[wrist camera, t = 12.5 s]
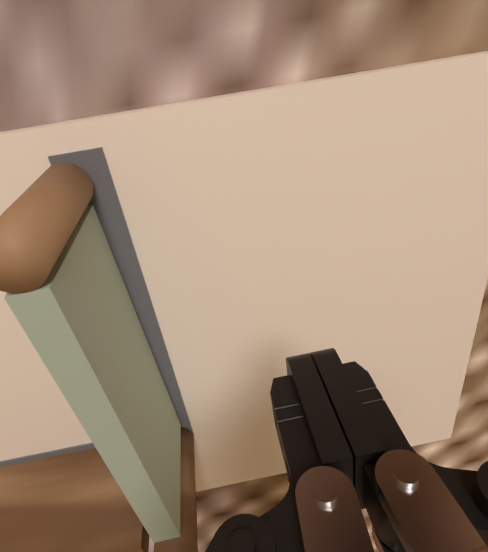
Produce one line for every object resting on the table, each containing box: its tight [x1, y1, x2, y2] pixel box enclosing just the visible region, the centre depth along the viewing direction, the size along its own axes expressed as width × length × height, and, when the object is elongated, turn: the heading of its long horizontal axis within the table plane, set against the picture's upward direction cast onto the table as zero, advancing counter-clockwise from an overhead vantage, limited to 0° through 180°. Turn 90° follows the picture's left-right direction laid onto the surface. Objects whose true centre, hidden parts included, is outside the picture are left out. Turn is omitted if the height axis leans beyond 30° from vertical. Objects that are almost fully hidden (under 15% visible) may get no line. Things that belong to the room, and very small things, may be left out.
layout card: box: [0, 51, 488, 492], centre depth 21 cm, size 24×34×1 cm
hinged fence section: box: [0, 162, 181, 543], centre depth 16 cm, size 2×15×6 cm, turn 10°
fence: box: [0, 427, 198, 552], centre depth 20 cm, size 2×16×8 cm, turn 98°
